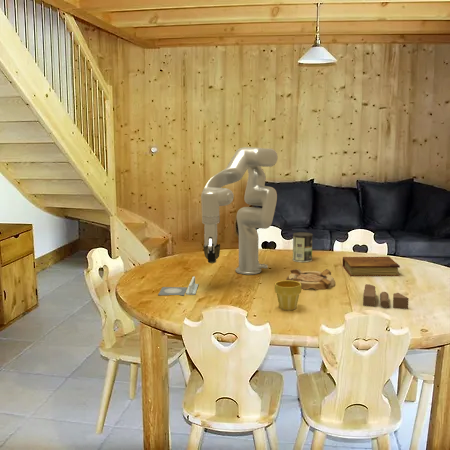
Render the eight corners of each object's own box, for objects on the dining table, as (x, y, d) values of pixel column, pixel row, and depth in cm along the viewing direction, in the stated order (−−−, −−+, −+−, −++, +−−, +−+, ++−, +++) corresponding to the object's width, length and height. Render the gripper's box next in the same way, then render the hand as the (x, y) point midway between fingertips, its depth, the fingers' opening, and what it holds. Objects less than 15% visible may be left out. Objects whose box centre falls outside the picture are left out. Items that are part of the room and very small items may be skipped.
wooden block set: (363, 293, 216) (364, 281, 234) (362, 307, 217) (364, 294, 235) (408, 296, 212) (406, 283, 229) (408, 310, 213) (406, 297, 230)
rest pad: (187, 288, 243) (187, 287, 243) (184, 295, 232) (184, 294, 232) (162, 287, 243) (162, 286, 243) (158, 295, 233) (158, 294, 232)
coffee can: (310, 257, 296) (311, 231, 294) (313, 262, 286) (314, 235, 284) (291, 257, 296) (291, 232, 294) (293, 262, 286) (293, 235, 284)
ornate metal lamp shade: (218, 265, 237) (218, 247, 235) (202, 264, 239) (201, 247, 237) (222, 260, 244) (221, 243, 243) (206, 260, 246) (205, 242, 244)
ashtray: (298, 273, 266) (299, 263, 266) (345, 281, 253) (345, 270, 252) (273, 285, 247) (273, 274, 247) (322, 294, 234) (322, 283, 233)
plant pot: (272, 303, 221) (272, 280, 219) (297, 302, 222) (298, 279, 220) (276, 312, 211) (277, 287, 209) (303, 311, 212) (304, 286, 210)
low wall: (198, 285, 247) (198, 276, 246) (195, 294, 233) (195, 285, 232) (189, 285, 247) (189, 276, 246) (185, 294, 233) (185, 285, 233)
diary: (388, 267, 278) (388, 256, 277) (399, 277, 260) (399, 265, 259) (342, 267, 278) (342, 256, 277) (350, 277, 260) (350, 265, 259)
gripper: (203, 215, 246) (205, 254, 250) (200, 224, 229) (201, 265, 233) (220, 215, 246) (222, 253, 249) (218, 223, 229) (219, 265, 233)
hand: (212, 259), depth 241 cm, fingers closed on ornate metal lamp shade, 6 cm apart
